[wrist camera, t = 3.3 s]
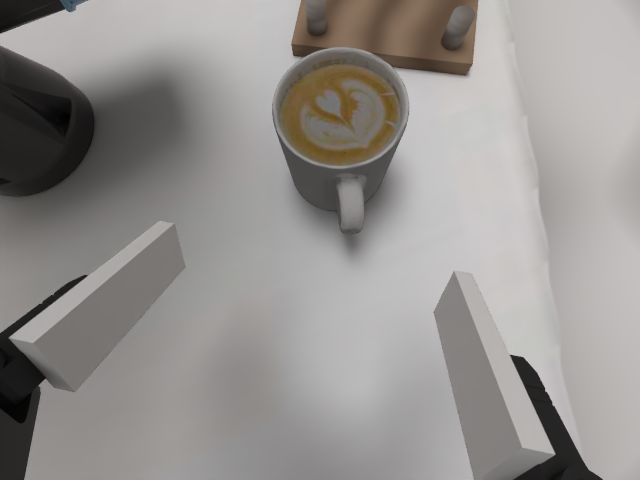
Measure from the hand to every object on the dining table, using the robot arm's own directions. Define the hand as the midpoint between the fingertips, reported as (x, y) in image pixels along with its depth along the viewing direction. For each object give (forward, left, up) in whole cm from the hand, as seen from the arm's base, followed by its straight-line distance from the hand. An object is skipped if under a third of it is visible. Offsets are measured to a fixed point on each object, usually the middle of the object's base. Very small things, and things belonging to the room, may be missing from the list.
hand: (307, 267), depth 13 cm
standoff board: (-18, +31, -14) cm, 38 cm away
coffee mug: (-6, +9, -15) cm, 18 cm away
